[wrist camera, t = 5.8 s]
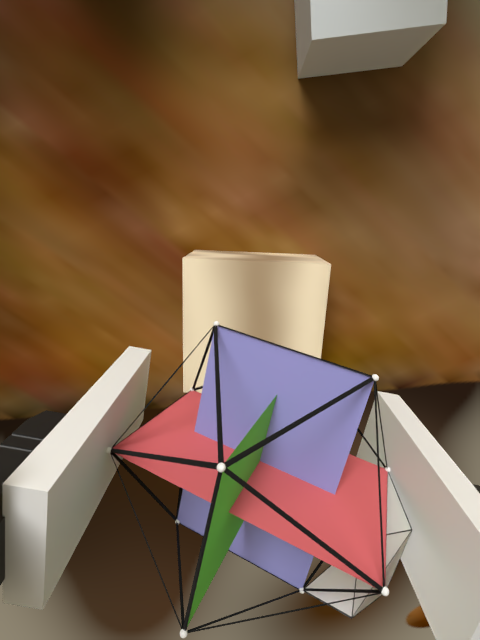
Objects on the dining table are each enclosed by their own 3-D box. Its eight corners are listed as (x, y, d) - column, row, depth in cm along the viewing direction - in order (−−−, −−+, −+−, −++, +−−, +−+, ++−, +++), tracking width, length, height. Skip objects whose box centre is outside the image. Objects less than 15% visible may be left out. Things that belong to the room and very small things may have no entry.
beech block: (195, 360, 27) (183, 392, 22) (195, 249, 24) (182, 258, 19) (304, 364, 26) (316, 398, 22) (314, 254, 24) (331, 264, 19)
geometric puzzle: (75, 496, 12) (191, 861, 6) (94, 292, 10) (300, 519, 4) (249, 447, 16) (419, 624, 10) (286, 299, 14) (525, 408, 8)
